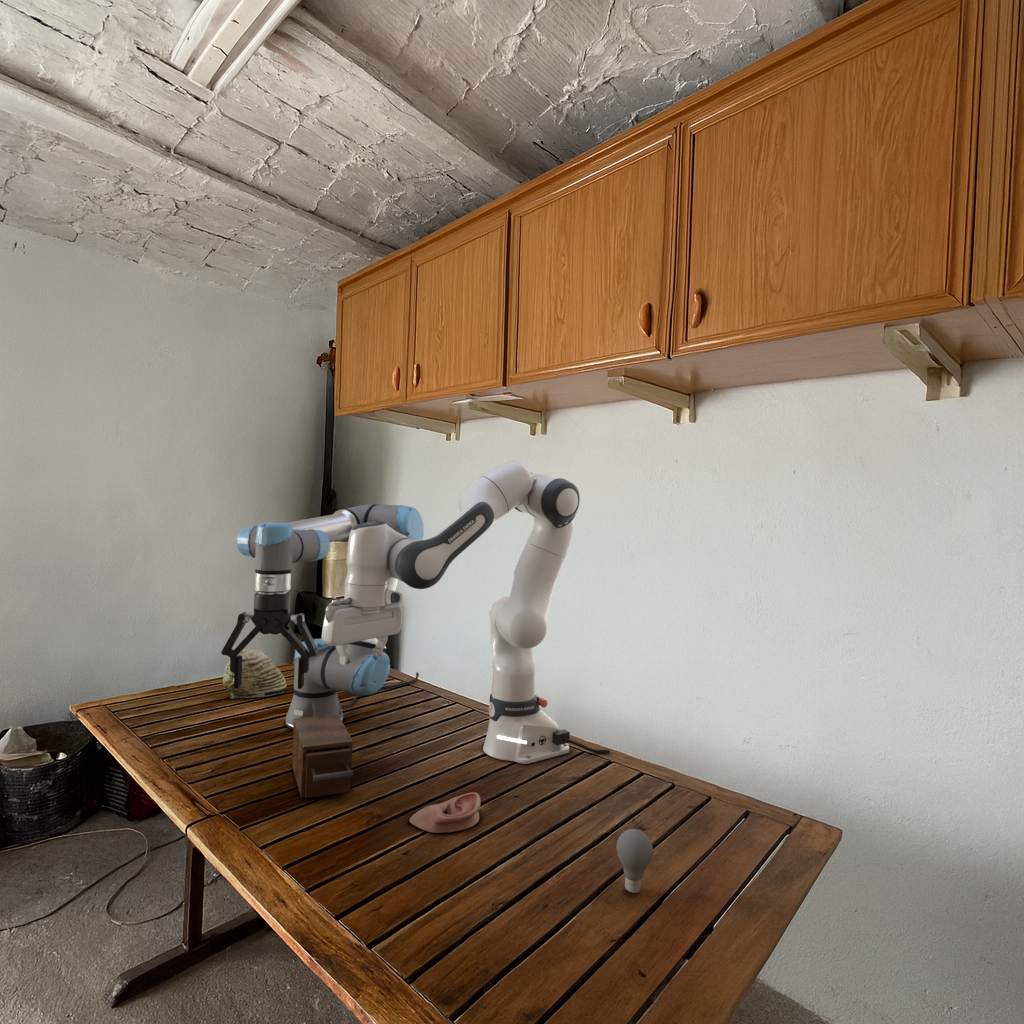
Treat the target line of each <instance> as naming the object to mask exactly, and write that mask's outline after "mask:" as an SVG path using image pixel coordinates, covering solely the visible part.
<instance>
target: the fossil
mask: <svg viewBox="0 0 1024 1024" xmlns="http://www.w3.org/2000/svg"><path fill="white" fill-rule="evenodd" d="M238 656H242V683H241V685H240V686H239V687H238V688H234V672H231V671H230V658H229V659H228V660H227V663H226V666H225V668H224V671H223V675H222V676H223V677H222V685H223V687H224V688H225V690H226V691H228V693H229V698H230V699H250V698H264V697H271V696H275V695H281V694H284V693H285V691H286V689H287V687H288V686H287V680H286V678H285V676H284V674H283V673H282V672H281V669H279V668H278V667H277V665H276V663H275V662H274V660H273V659H272V658H271V657H270V656H269V655H268V654H267V653H266V652H265V650H264V649H263V648H260V647H258V648H251V647H247V646H246V647H245V648H244V649H243V650H242V651H241V652H240V653H239V654H238Z"/></svg>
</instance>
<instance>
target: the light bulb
mask: <svg viewBox="0 0 1024 1024" xmlns="http://www.w3.org/2000/svg"><path fill="white" fill-rule="evenodd" d="M615 849H616V854H617V857H618V859H619V861H620V863H621V865H622V867H623V873H624V874H623V875H624V876H625V878H624V888H625V890H627V891H628V892H630V893H634V894H635V893H639V892H640V891H641V889H642V887H641V886H642V879H643V877H644V875H645V871H646V868H647V867H648V866H649V864H650V863H651V861H652V859H653V855H654V847H653V843H652V841H651V838H649V836H648V835H647V834H646V833H645V832H643V831H642V830H641V829H636V828H629V829H627V830H625V831H623V832H622V833H621V834H620V835H619V837H618V839H617V841H616V847H615Z"/></svg>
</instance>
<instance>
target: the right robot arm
mask: <svg viewBox="0 0 1024 1024" xmlns="http://www.w3.org/2000/svg"><path fill="white" fill-rule="evenodd" d="M580 499H581V498H580V491H579V489H578V487H577V486H576V485H575V484H574V483H573V482H571V481H570V480H568V479H565V478H562V477H558V476H554V475H551V474H547V473H541V474H540V473H535V472H534V473H533V472H530V470H529V469H528V467H527V466H525V465H524V463H521V462H519V461H517V460H509V461H506V462H504V463H502V464H499V465H498V466H495V467H494V468H492V469H490V470H488V471H487V472H485V473H484V474H482V475H480V476H479V477H478V478H476V479H475V480H473V481H472V482H471V483H470V484H469V485H468V486H466V488H465V489H463V490H462V492H461V493H460V495H459V499H458V507H459V511H460V514H459V515H458V516H457V518H455V519H454V520H453V521H451V523H449V524H448V525H447V526H446V527H444V528H443V529H442V530H440V532H438V533H437V534H435V536H433V537H430V538H425V539H422V540H416V539H412V538H409V537H407V536H405V535H402V534H400V533H399V532H397V531H395V530H393V529H392V528H391V527H389V526H388V525H387V524H386V523H385V522H381V521H375V522H365V523H360V524H357V525H356V526H354V527H353V528H352V530H351V532H350V536H349V541H348V542H347V549H346V558H345V559H346V560H345V561H346V569H347V572H346V573H347V574H346V577H345V580H344V592H343V593H344V594H343V595H344V596H343V597H344V598H342V599H334V600H331V602H330V603H329V604H327V606H326V608H325V615H324V618H323V623H322V629H321V638H322V641H323V642H324V644H327V645H330V646H336V649H337V651H338V653H339V655H340V664H343V665H346V664H349V663H350V662H351V661H350V659H351V656H350V655H348V654H347V652H346V649H347V648H348V643H353V642H358V641H363V640H368V639H373V638H377V640H378V642H377V645H376V648H373V656H374V657H380V656H382V655H383V648H384V647H385V646H386V644H387V643H388V641H389V636H393V635H397V634H399V633H400V631H401V629H402V627H403V626H402V625H403V606H402V604H401V603H402V602H403V599H404V598H403V597H404V595H403V593H401V592H399V591H396V590H395V591H393V590H390V589H387V580H388V579H389V578H396V579H398V581H399V582H403V584H406V585H407V586H408V587H410V588H412V589H416V590H425V589H429V588H432V587H433V586H435V585H436V584H437V583H438V582H440V581H441V579H442V578H443V576H444V574H445V573H446V571H447V570H448V568H449V567H450V566H451V563H452V562H453V561H454V560H455V559H456V558H458V556H459V555H460V554H462V553H463V552H464V551H465V550H466V549H467V548H468V547H470V546H471V545H472V544H473V543H475V541H477V539H479V538H480V537H481V536H482V535H483V534H484V533H485V532H487V530H489V528H491V526H493V525H494V524H496V523H497V522H498V521H500V520H502V518H504V517H506V516H507V514H509V513H511V511H513V510H516V511H518V512H520V513H524V514H526V515H529V516H531V517H533V526H532V527H533V528H532V530H531V532H530V534H529V535H528V538H527V539H526V541H525V544H524V547H523V548H522V552H521V554H520V555H519V559H518V561H517V564H516V565H515V568H514V570H513V580H512V584H511V589H510V594H509V595H504V596H501V597H498V598H497V599H495V600H494V601H493V602H492V604H491V606H490V608H489V612H488V616H489V627H490V628H489V629H490V633H489V634H490V646H491V647H490V648H491V657H492V658H491V659H492V677H491V692H490V694H489V702H488V716H489V720H488V725H487V731H486V736H485V740H484V744H483V746H482V751H483V752H484V753H485V754H486V755H488V756H489V757H492V758H493V759H497V760H500V761H501V760H502V761H508V762H509V761H510V762H514V763H518V764H522V765H529V764H532V763H536V762H540V761H543V760H548V759H551V758H555V757H558V756H562V755H566V754H569V753H570V745H569V744H572V745H574V746H577V747H579V748H582V749H584V750H586V751H587V752H591V753H595V754H610V751H611V750H610V749H596V748H591V747H589V746H587V745H585V744H583V743H580V742H577V741H574V740H572V739H570V737H571V732H570V731H569V730H567V729H563V728H562V729H560V727H559V725H558V723H557V722H556V721H555V719H553V718H552V717H550V716H549V715H548V714H547V713H546V712H545V711H543V710H542V709H541V708H547V706H548V704H549V702H548V700H547V699H546V698H544V697H539V696H538V695H536V694H535V690H536V689H535V687H536V667H537V666H536V662H535V657H534V652H533V651H534V650H533V648H535V647H537V646H538V645H540V644H541V643H542V642H543V640H544V639H545V637H546V634H547V631H548V630H547V629H548V627H547V626H548V625H547V619H548V615H549V610H550V606H551V602H552V597H553V593H554V589H555V586H556V584H557V580H558V578H559V576H560V573H561V570H562V568H563V566H564V563H565V561H566V559H567V556H568V553H569V551H570V548H571V544H572V541H573V536H574V531H575V522H574V519H575V517H576V514H577V512H578V510H579V507H580V501H581V500H580Z"/></svg>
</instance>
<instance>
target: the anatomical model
mask: <svg viewBox="0 0 1024 1024" xmlns="http://www.w3.org/2000/svg"><path fill="white" fill-rule="evenodd" d="M480 808H481V796H480V794H479V793H478V792H476V791H475V792H467V793H463V794H460V795H458V796H455V797H452V798H450V799H448V800H445V801H443V802H441V803H435V804H430V805H427V806H424V807H422V808H421V809H419V810H418V811H416V812H415V813H414V814H412V816H411V817H410V818H409V823H410V824H411V825H413V826H414V827H416V828H418V829H420V830H423V831H426V832H428V833H433V834H441V833H452V832H458V831H464V830H467V829H469V828H471V827H474V826H475V825H476V824H478V823H479V820H480V812H479V809H480Z"/></svg>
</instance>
